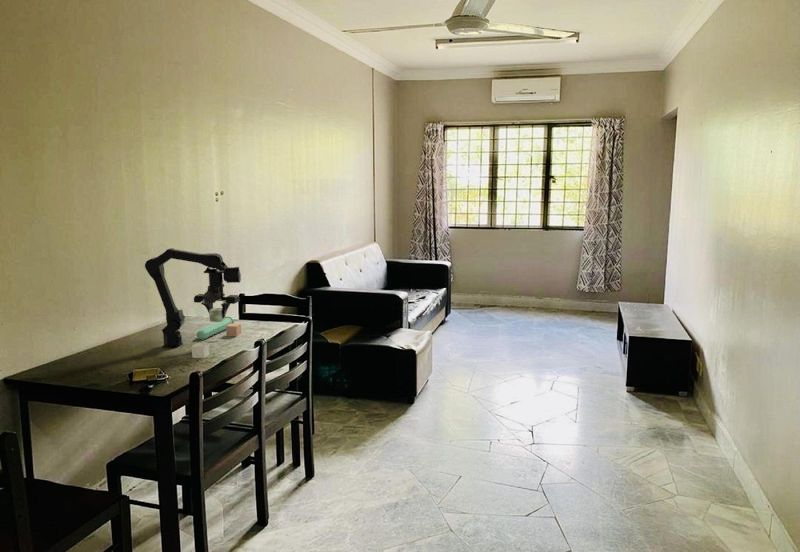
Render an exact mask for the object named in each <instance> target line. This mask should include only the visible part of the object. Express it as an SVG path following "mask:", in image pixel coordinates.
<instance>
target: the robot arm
mask: <svg viewBox="0 0 800 552" xmlns="http://www.w3.org/2000/svg"><path fill="white" fill-rule="evenodd" d="M171 259H173V260H180V261H184V262H185V261H186V262H190V263H198V264H200V265H202V266H204V267H206V269H204V271H203V274H208V284H209V285H208V286H207V290H206V291H205V292H204V293H198V294H196V295H194V297H193V303H196V304H197V303H200V304H201V305H203V306H204V307H205V308H206V310H207V313H209V310H211V309H213V308H214V304H215V303H216V302H222V303H221V304H220V306H221V308H222V318H225V316H226V315H227V312H228V309H229V308H230V305H231V304H232V305H233V304H234V305H236V304H237V303H239V302H240V299H241V298H240V296H239V295H238V294H229V295H228V296H225V295H226V294H225V292H224V287H225V284H224V282H226V284H227V283H228V284H229V283H230V284H231V283H232V284H234V283H235V284H236V283H238V284H239V283H241V282H242V281H241V280H242V278H241V277H242V274H241V270H240V266H233V267H228V265H227V264H226V263H225V262H224V260H223V256H222V255H221V254H220V253H216V252H215V253H214V252H213V253H209V252H207V253H200V252H199V253H198V252H193V251H187V250H181V249H175V248H167V249H166V250H165V251H164V252H163V253H160V255H158V256H156V257H151V258H150V259H148V260H146V261H145V264H144V269H145V270H146V272H147V274H148V275H149V277H151V279H152V280H153V281H154V283H155V286H156V288H157V289H156V290H157V292H158V293H159V297H160V299H161V302H162V305H163V307H164V310H165V319H166V321H165V322H166V325H165V327H163V328H162V329H161V331H162V335H163V336H162V337H163V345H162V346H161V348H174V349H175V348H178V347H180V346H182V345H183V344H184V342H183V341H182V339H183V338H182V334H181V331H180V328H181V327H182V326H183V325H184V324H185V319H186V316H185V315H184V313H183V309H181V308H180V309H179V308H178V307H177V306H176V303H175V301H174V299H173V296H172V294H171V290H170V288H169V285H168V283H167V280H166V277H165V267H164V266H165V265H164V264H165V263H167V262H169V261H170V260H171Z"/></svg>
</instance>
